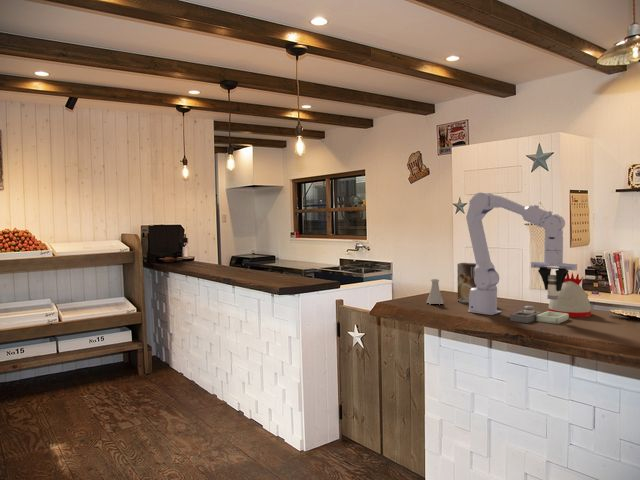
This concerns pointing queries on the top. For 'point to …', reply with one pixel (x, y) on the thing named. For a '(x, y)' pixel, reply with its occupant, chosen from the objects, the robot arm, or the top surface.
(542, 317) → the parts tray
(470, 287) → the coffee box
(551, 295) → the cylinder
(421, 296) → the top surface
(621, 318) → the top surface
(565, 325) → the top surface
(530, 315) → the grey compartment rack
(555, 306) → the kitchen timer
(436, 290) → the flask
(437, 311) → the top surface
